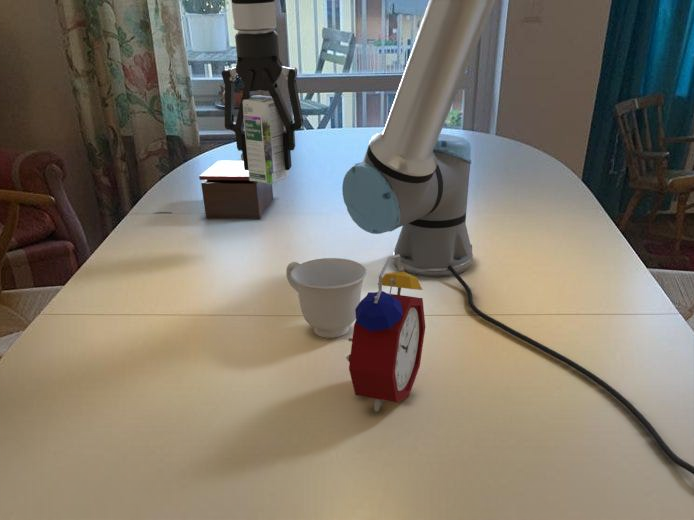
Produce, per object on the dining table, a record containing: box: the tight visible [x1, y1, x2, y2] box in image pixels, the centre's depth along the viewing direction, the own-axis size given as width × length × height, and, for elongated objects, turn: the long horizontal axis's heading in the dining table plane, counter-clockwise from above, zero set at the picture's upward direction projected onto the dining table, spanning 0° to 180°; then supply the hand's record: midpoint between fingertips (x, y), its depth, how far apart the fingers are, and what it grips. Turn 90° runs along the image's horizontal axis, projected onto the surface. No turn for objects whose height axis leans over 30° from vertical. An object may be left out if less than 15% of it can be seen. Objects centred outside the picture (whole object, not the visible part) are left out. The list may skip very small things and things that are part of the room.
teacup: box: [285, 257, 368, 339], centre depth 119 cm, size 12×15×10 cm
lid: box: [198, 160, 249, 181], centre depth 168 cm, size 16×13×1 cm
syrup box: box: [243, 94, 289, 185], centre depth 140 cm, size 6×6×14 cm
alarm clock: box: [342, 254, 426, 413], centre depth 99 cm, size 15×9×20 cm, turn 158°
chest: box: [200, 180, 274, 220], centre depth 171 cm, size 16×13×8 cm
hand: (268, 167), depth 143 cm, fingers closed on syrup box, 7 cm apart
